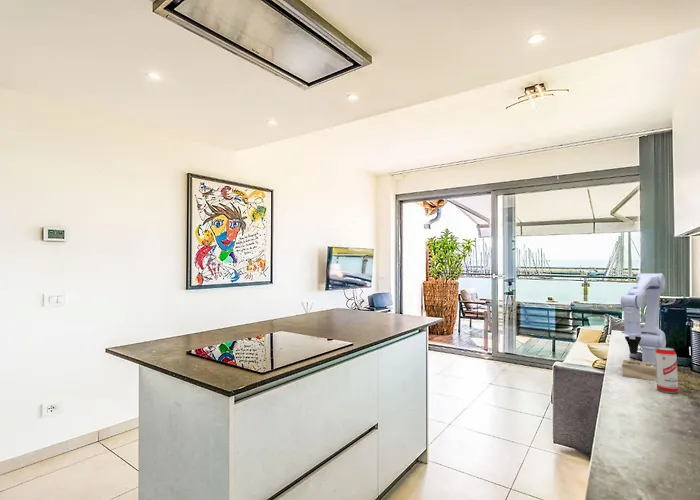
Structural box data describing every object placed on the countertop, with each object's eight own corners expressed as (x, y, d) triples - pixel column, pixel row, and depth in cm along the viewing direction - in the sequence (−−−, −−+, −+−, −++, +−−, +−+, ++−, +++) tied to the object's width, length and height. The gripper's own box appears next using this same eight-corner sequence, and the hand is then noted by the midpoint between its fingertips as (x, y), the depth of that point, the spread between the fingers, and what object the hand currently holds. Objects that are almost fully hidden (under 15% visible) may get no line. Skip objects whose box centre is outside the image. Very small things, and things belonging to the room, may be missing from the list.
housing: (624, 370, 171) (623, 359, 171) (661, 375, 163) (660, 363, 163) (622, 376, 162) (622, 364, 162) (661, 381, 154) (661, 369, 154)
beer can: (683, 394, 139) (680, 350, 140) (666, 394, 139) (663, 350, 140) (669, 388, 145) (666, 346, 146) (652, 388, 145) (650, 346, 146)
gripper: (622, 319, 173) (623, 349, 173) (619, 323, 162) (621, 355, 161) (641, 320, 169) (642, 351, 168) (640, 324, 158) (642, 357, 157)
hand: (633, 353), depth 164 cm, fingers closed
